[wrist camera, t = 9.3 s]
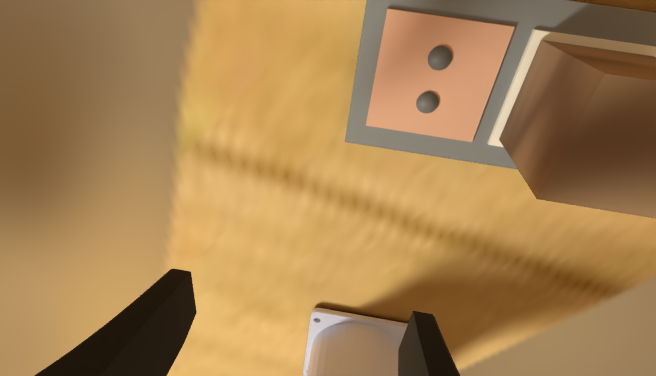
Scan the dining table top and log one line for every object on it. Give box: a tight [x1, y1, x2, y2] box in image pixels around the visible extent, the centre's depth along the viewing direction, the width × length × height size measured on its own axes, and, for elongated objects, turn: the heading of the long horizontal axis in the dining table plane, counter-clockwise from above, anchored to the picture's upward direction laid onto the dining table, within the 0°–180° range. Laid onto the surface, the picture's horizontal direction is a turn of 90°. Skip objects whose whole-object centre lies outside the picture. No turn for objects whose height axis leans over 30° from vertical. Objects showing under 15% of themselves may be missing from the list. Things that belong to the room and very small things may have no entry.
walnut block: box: [499, 40, 656, 218], centre depth 14 cm, size 4×4×5 cm
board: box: [345, 0, 656, 169], centre depth 16 cm, size 8×13×1 cm, turn 83°
